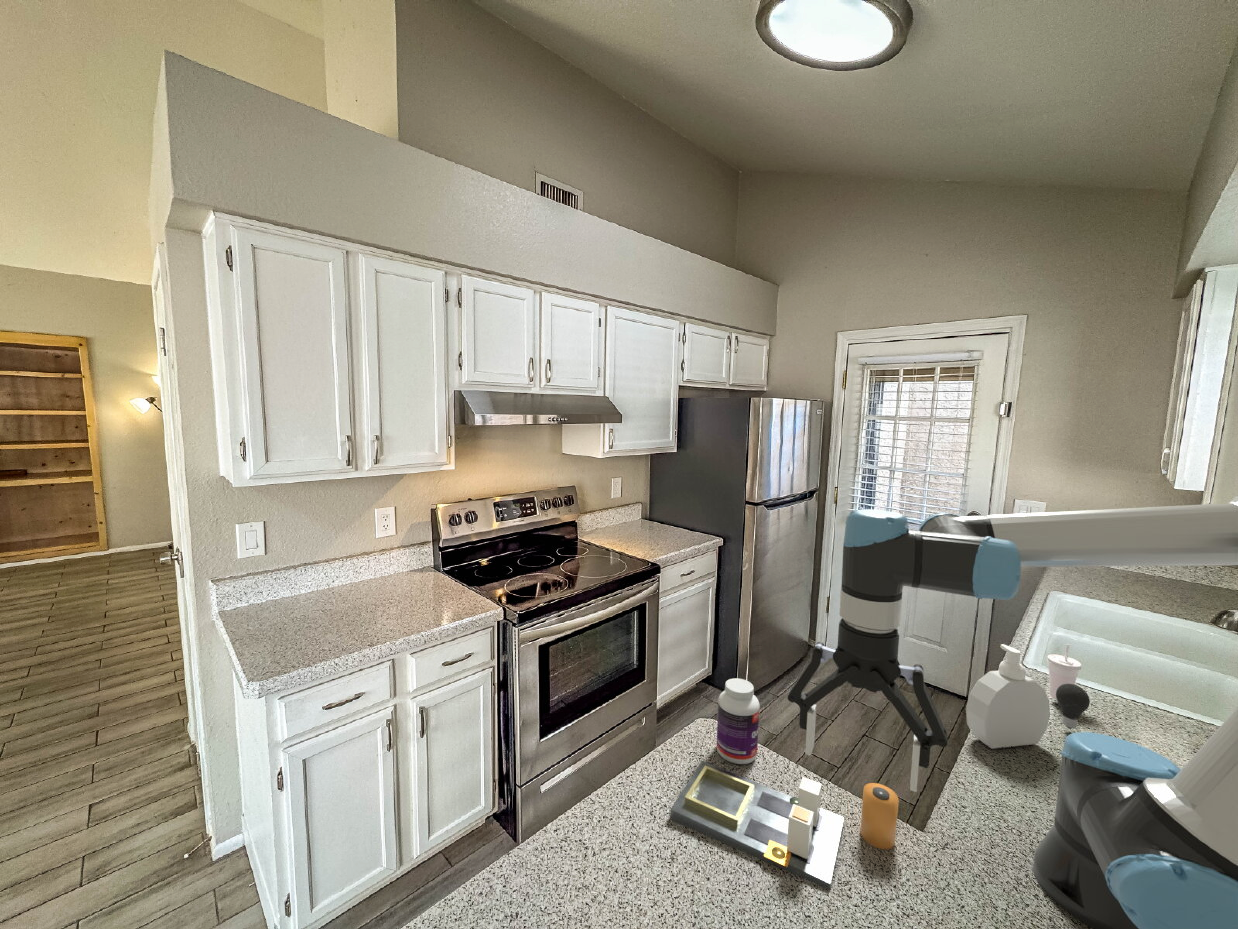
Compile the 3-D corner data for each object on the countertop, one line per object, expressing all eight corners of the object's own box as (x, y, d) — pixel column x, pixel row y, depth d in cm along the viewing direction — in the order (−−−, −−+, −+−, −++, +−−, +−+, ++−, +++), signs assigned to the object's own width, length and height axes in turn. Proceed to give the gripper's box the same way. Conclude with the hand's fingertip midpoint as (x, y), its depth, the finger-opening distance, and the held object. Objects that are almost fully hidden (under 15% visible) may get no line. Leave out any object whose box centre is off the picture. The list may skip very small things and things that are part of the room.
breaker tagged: (811, 845, 78) (813, 811, 77) (807, 859, 76) (809, 824, 75) (791, 836, 80) (793, 803, 79) (786, 850, 77) (788, 816, 76)
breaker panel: (843, 828, 84) (844, 810, 84) (828, 900, 72) (829, 879, 71) (701, 770, 97) (702, 755, 97) (668, 823, 84) (668, 805, 84)
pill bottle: (758, 770, 97) (762, 699, 96) (715, 763, 99) (719, 693, 98) (755, 743, 105) (759, 677, 104) (716, 737, 107) (719, 672, 105)
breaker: (819, 814, 84) (821, 784, 83) (816, 827, 81) (818, 795, 81) (800, 807, 86) (802, 776, 85) (796, 819, 83) (798, 788, 82)
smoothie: (1053, 703, 123) (1060, 648, 121) (1036, 689, 129) (1042, 636, 128) (1083, 706, 122) (1090, 650, 120) (1065, 692, 128) (1071, 638, 127)
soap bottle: (1023, 728, 113) (1033, 642, 111) (1047, 743, 108) (1058, 653, 105) (960, 734, 110) (969, 646, 108) (982, 750, 105) (992, 658, 103)
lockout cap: (895, 836, 83) (899, 789, 82) (893, 859, 79) (898, 809, 78) (861, 823, 85) (865, 777, 85) (858, 844, 81) (862, 796, 80)
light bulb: (1093, 736, 110) (1098, 692, 109) (1067, 735, 110) (1072, 692, 109) (1070, 720, 116) (1075, 679, 115) (1045, 719, 116) (1050, 678, 115)
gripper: (976, 633, 67) (962, 784, 69) (783, 596, 80) (777, 724, 82) (981, 656, 60) (966, 822, 63) (770, 612, 73) (764, 750, 75)
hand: (859, 767), depth 72 cm, fingers open, 13 cm apart
